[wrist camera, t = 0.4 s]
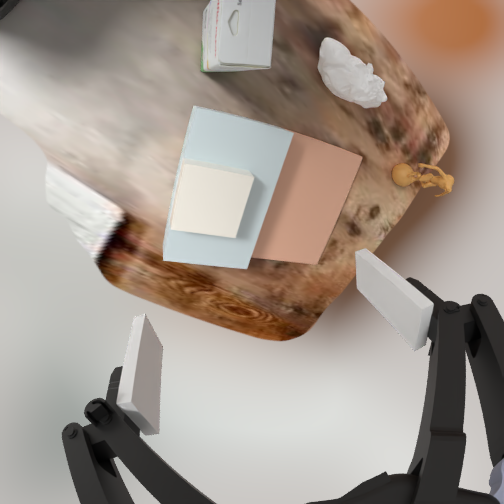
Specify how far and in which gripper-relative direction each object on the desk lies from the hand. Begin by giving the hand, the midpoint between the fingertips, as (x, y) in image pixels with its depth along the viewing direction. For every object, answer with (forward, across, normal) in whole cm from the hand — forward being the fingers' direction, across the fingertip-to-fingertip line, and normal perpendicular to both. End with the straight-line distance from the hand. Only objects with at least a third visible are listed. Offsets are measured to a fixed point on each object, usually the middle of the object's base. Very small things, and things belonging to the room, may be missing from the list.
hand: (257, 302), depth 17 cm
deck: (+25, 0, +2) cm, 25 cm away
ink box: (+22, +5, +21) cm, 31 cm away
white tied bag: (+24, +20, +14) cm, 34 cm away
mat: (+26, +12, -4) cm, 29 cm away
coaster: (+21, -1, +2) cm, 21 cm away
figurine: (+27, +31, -2) cm, 41 cm away
